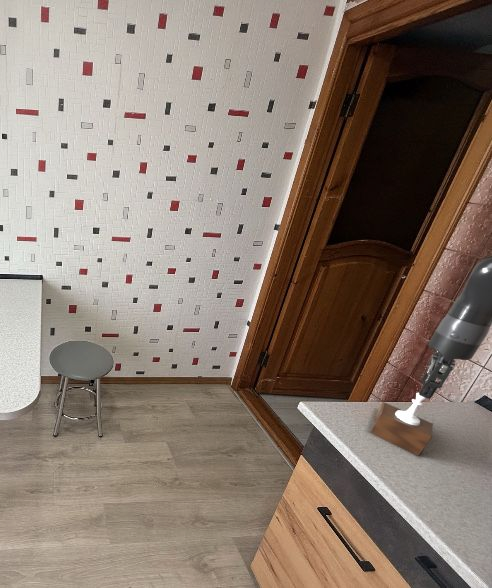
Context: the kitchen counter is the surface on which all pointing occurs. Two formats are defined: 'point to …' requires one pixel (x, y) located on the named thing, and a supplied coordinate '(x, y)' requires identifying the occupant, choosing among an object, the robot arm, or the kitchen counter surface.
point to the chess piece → (411, 411)
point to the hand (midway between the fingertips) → (425, 389)
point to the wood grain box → (401, 430)
